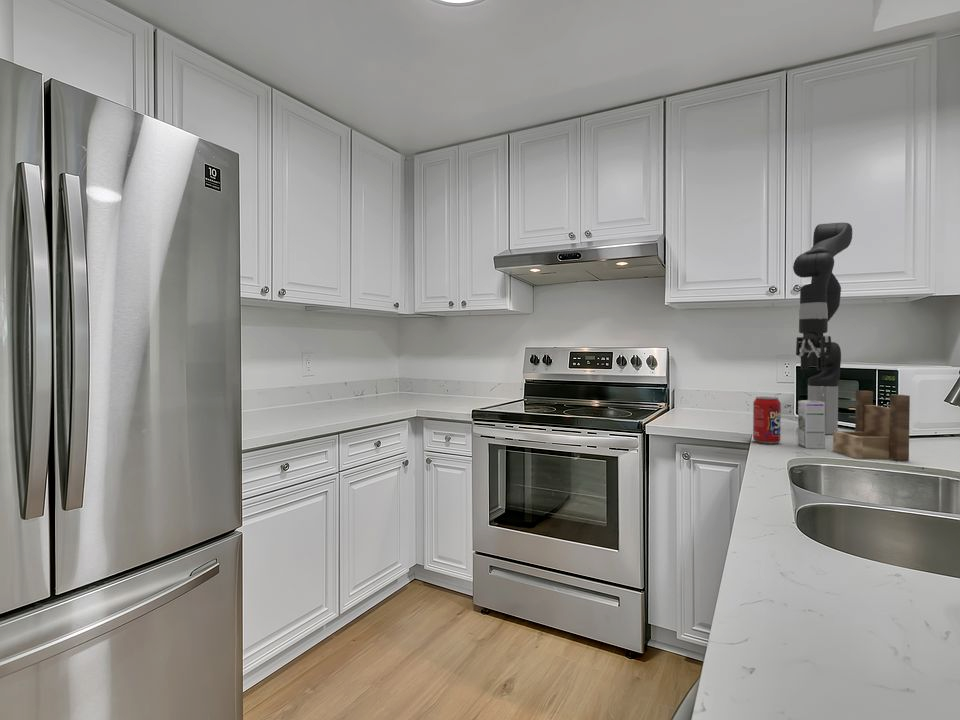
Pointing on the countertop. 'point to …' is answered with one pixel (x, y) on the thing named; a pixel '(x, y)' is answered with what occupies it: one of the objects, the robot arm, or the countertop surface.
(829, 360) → the robot arm
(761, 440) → the soda can
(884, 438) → the wooden stand
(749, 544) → the countertop surface
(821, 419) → the syrup box
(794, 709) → the countertop surface
